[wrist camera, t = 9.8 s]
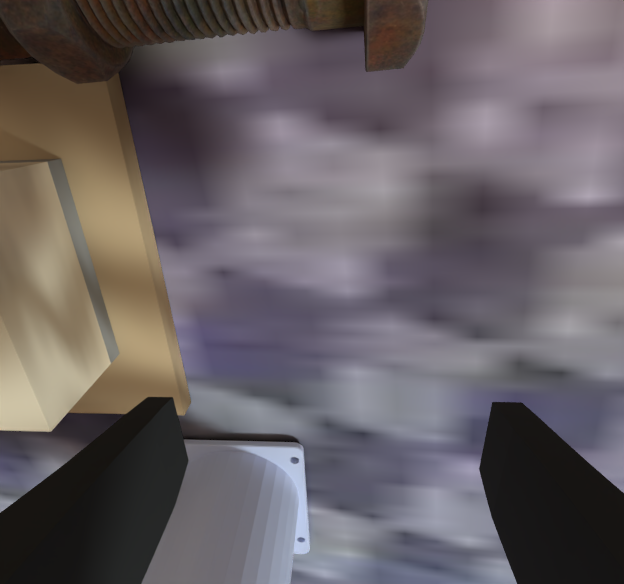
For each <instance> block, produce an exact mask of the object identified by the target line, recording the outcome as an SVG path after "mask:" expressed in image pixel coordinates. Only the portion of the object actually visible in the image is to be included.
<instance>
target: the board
mask: <svg viewBox="0 0 624 584" xmlns="http://www.w3.org/2000/svg"><path fill="white" fill-rule="evenodd" d="M40 159H61V160H62V163H63V167H64V170H65V173H66V177H67V180H68V183H69V186H70V190H71V193H72V196H73V200H74V203H75V206H76V210H77V213H78V216H79V220H80V223H81V226H82V230H83V233H84V236H85V240H86V243H87V246H88V250H89V253H90V256H91V260H92V263H93V266H94V270H95V273H96V276H97V280H98V283H99V286H100V290H101V293H102V296H103V300H104V303H105V306H106V310H107V313H108V316H109V320H110V323H111V326H112V330H113V333H114V336H115V340H116V343H117V346H118V350H119V353H120V354H119V355H118V356H117V358H116V359H115V360H114V361H113V362H112V363H111V364H110V365H109V367H108V368H107V369H106V370H105V371H104V372H103V373H102V375H101V376H100V377H99V378H98V379H97V380H96V381H95V382H94V384H93V385H92V386H91V387H90V388H89V389H88V390H87V392H86V393H85V394H84V395H83V396H82V397H81V398H80V399H79V401H78V402H77V403H76V404H75V405H74V406H73V407H72V408H71V410H70V411H69V412H68V413H102V414H127V413H128V412H129V411H130V410H132V409H133V408H134V407H135V406H137V405H138V404H139V403H140V402H142V401H143V400H144V399H146V398H147V397H173V399H174V403H175V407H176V411H177V415H185V413H186V411H187V409H188V407H189V405H190V403H191V399H190V395H189V390H188V386H187V381H186V377H185V372H184V368H183V363H182V359H181V354H180V350H179V345H178V341H177V336H176V332H175V327H174V323H173V318H172V314H171V309H170V304H169V300H168V295H167V291H166V286H165V282H164V277H163V273H162V268H161V264H160V259H159V255H158V250H157V246H156V241H155V237H154V232H153V228H152V223H151V218H150V214H149V209H148V205H147V200H146V196H145V191H144V187H143V182H142V178H141V173H140V169H139V164H138V160H137V155H136V151H135V146H134V142H133V137H132V133H131V128H130V123H129V119H128V114H127V110H126V105H125V101H124V96H123V92H122V87H121V83H120V78H119V74H118V73H117V74H116V75H114V76H113V77H112V78H111V79H109V80H108V81H103V82H93V83H82V84H76V83H74V82H72V81H70V80H68V79H66V78H64V77H62V76H60V75H58V74H56V73H55V72H53V71H52V70H50V69H49V68H48V67H46V66H45V65H43V64H42V63H36V64H18V65H0V161H11V160H40Z"/></svg>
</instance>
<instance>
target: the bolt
mask: <svg viewBox="0 0 624 584" xmlns="http://www.w3.org/2000/svg"><path fill="white" fill-rule="evenodd" d="M427 5H428V0H0V61H1V60H4V59H15V58H28V57H33V58H35V59H36V60H37V61H39V62H40V63H42V64H43V65H45V66H46V67H48V68H49V69H50V70H52V71H53V72H55V73H56V74H58V75H60V76H62V77H64V78H66V79H68V80H70V81H72V82H74V83H76V84H82V83H93V82H103V81H108V80H109V79H111V78H112V77H113V76H114V75H116V74H117V73H118V72H119V71H120V70H121V69H122V68H123V67H124V66H125V65H126V64H127V63H128V62H129V60H130V58H131V55H132V52H133V47H134V46H136V45H137V46H143V45H145V44H147V45H153V44H155V43H159V44H162V43H163V42H168V43H171V42H174V41H184V40H185V39H186V40H194V39H195V38H197V39H204V38H205V37H208V38H213V37H215V36H216V35H218V36H219V37H223V36H225V35H227V34H228V35H232V36H234V35H235V34H237V33H239V34H242V35H244V34H245V33H247V32H248V31H249V32H250V33H253V34H255V33H256V32H257V31H258V30H260V31H261V32H266V31H267V30H269V28H270V30H272V31H278V29H279V26H280V27H281V28H282V29H284V30H288V29H289V27H290V25H292V27H293V28H294V29H302V28H307V29H309V30H311V31H315V30H326V29H336V28H347V27H358V26H364V44H365V68H366V71H367V72H370V71H380V70H390V69H400V68H404V66H405V65H406V64H407V63H408V61H409V60H410V59H411V57H412V56H413V55H414V53H415V52H416V50H417V48H418V47H419V45H420V43H421V40H422V37H423V34H424V29H425V21H426V13H427Z"/></svg>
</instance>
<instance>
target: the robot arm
mask: <svg viewBox="0 0 624 584" xmlns="http://www.w3.org/2000/svg"><path fill="white" fill-rule="evenodd" d="M293 457H296V458H293ZM479 470H480V474H481V478H482V482H483V486H484V490H485V494H486V497H487V501H488V505H489V508H490V512H491V516H492V519H493V521H494V524H495V527H496V530H497V532H498V535H499V537H500V540H501V543H502V545H503V548H504V551H505V553H506V556H507V559H508V561H509V564H510V566H511V569H512V571H513V574H514V577H515V579H516V582H517V584H624V493H623V492H622V491H620V490H619V489H618V488H617V487H616V486H615V485H613V484H612V483H611V482H610V481H609V480H608V479H606V478H605V477H604V476H603V475H602V474H601V473H600V472H598V471H597V470H596V469H595V468H594V467H593V466H592V465H590V464H589V463H588V462H587V461H586V460H585V459H584V458H583V457H581V456H580V455H579V454H578V453H577V452H576V451H575V450H574V449H573V448H571V447H570V446H569V445H568V444H567V443H566V442H565V441H564V440H563V439H561V438H560V437H559V436H558V435H557V434H556V433H555V432H554V431H553V430H552V429H551V428H549V427H548V426H547V425H546V424H545V423H544V422H543V421H542V420H541V419H540V418H538V417H537V416H536V415H535V414H534V413H533V412H532V411H531V410H530V409H528V408H527V407H526V406H525V405H524V404H523V403H516V402H492V407H491V412H490V417H489V422H488V427H487V432H486V438H485V443H484V448H483V453H482V458H481V463H480V468H479ZM309 550H310V536H309V522H308V507H307V492H306V478H305V463H304V449H303V446H302V445H301V444H299V443H295V442H264V441H227V440H189V439H183V435H182V431H181V427H180V423H179V419H178V415H177V411H176V407H175V403H174V399H173V397H147V398H146V399H144V400H143V401H142V402H140V403H139V404H138V405H137V406H135V407H134V408H133V409H132V410H130V411H129V412H128V413H127V414H126V415H124V416H123V417H122V418H121V419H119V420H118V421H117V422H116V423H115V424H113V425H112V426H111V427H110V428H109V429H107V430H106V431H105V432H104V433H102V434H101V435H100V436H99V437H98V438H96V439H95V440H94V441H93V442H91V443H90V444H89V445H88V446H87V447H85V448H84V449H83V450H82V451H80V452H79V453H78V454H77V455H75V456H74V457H73V458H72V459H70V460H69V461H68V462H67V463H66V464H64V465H63V466H62V467H60V468H59V469H58V470H57V471H55V472H54V473H53V474H51V475H50V476H49V477H47V478H46V479H45V480H43V481H42V482H41V483H39V484H38V485H37V486H35V487H34V488H33V489H31V490H30V491H29V492H28V493H26V494H25V495H24V496H22V497H21V498H20V499H18V500H17V501H16V502H14V503H13V504H12V505H10V506H9V507H8V508H6V509H5V510H4V511H2V512H1V513H0V584H290V582H291V573H292V564H293V555H294V554H306V553H308V552H309Z"/></svg>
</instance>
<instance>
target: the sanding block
mask: <svg viewBox="0 0 624 584" xmlns="http://www.w3.org/2000/svg"><path fill="white" fill-rule="evenodd" d="M119 354H120V353H119V350H118V346H117V343H116V340H115V336H114V333H113V330H112V326H111V323H110V320H109V316H108V313H107V310H106V306H105V303H104V300H103V296H102V293H101V290H100V286H99V283H98V280H97V276H96V273H95V270H94V266H93V263H92V260H91V256H90V253H89V250H88V246H87V243H86V240H85V236H84V233H83V230H82V226H81V223H80V220H79V216H78V213H77V210H76V206H75V203H74V200H73V196H72V193H71V190H70V186H69V183H68V180H67V177H66V173H65V170H64V167H63V163H62V160H61V159H40V160H11V161H0V430H8V431H46V432H51V431H52V430H53V429H54V428H55V427H56V425H57V424H58V423H59V422H60V421H61V420H62V419H63V418H64V416H65V415H66V414H67V413H68V412H69V411H70V410H71V408H72V407H73V406H74V405H75V404H76V403H77V402H78V401H79V399H80V398H81V397H82V396H83V395H84V394H85V393H86V392H87V390H88V389H89V388H90V387H91V386H92V385H93V384H94V382H95V381H96V380H97V379H98V378H99V377H100V376H101V375H102V373H103V372H104V371H105V370H106V369H107V368H108V367H109V365H110V364H111V363H112V362H113V361H114V360H115V359H116V358H117V356H118V355H119Z"/></svg>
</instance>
